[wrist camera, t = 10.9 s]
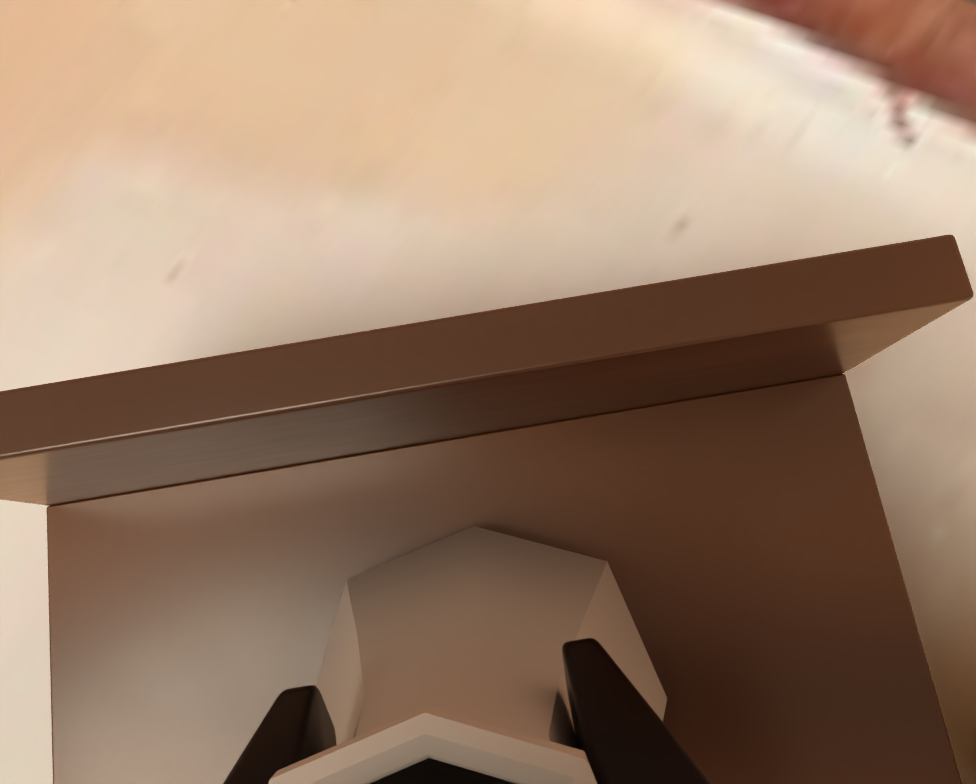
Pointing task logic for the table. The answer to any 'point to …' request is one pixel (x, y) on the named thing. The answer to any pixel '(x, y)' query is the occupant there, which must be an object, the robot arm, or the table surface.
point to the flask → (467, 665)
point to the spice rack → (501, 512)
